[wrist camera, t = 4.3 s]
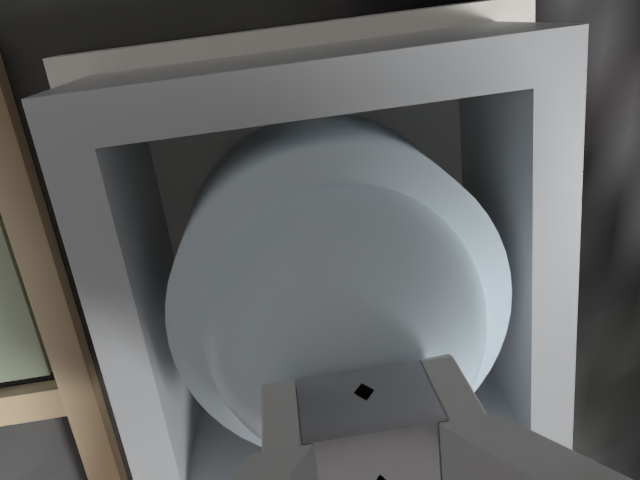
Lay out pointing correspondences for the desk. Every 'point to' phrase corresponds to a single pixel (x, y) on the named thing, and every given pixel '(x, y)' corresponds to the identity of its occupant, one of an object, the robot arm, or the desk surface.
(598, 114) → the desk surface
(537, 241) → the dome housing
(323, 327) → the dome
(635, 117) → the desk surface
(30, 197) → the wooden window frame
